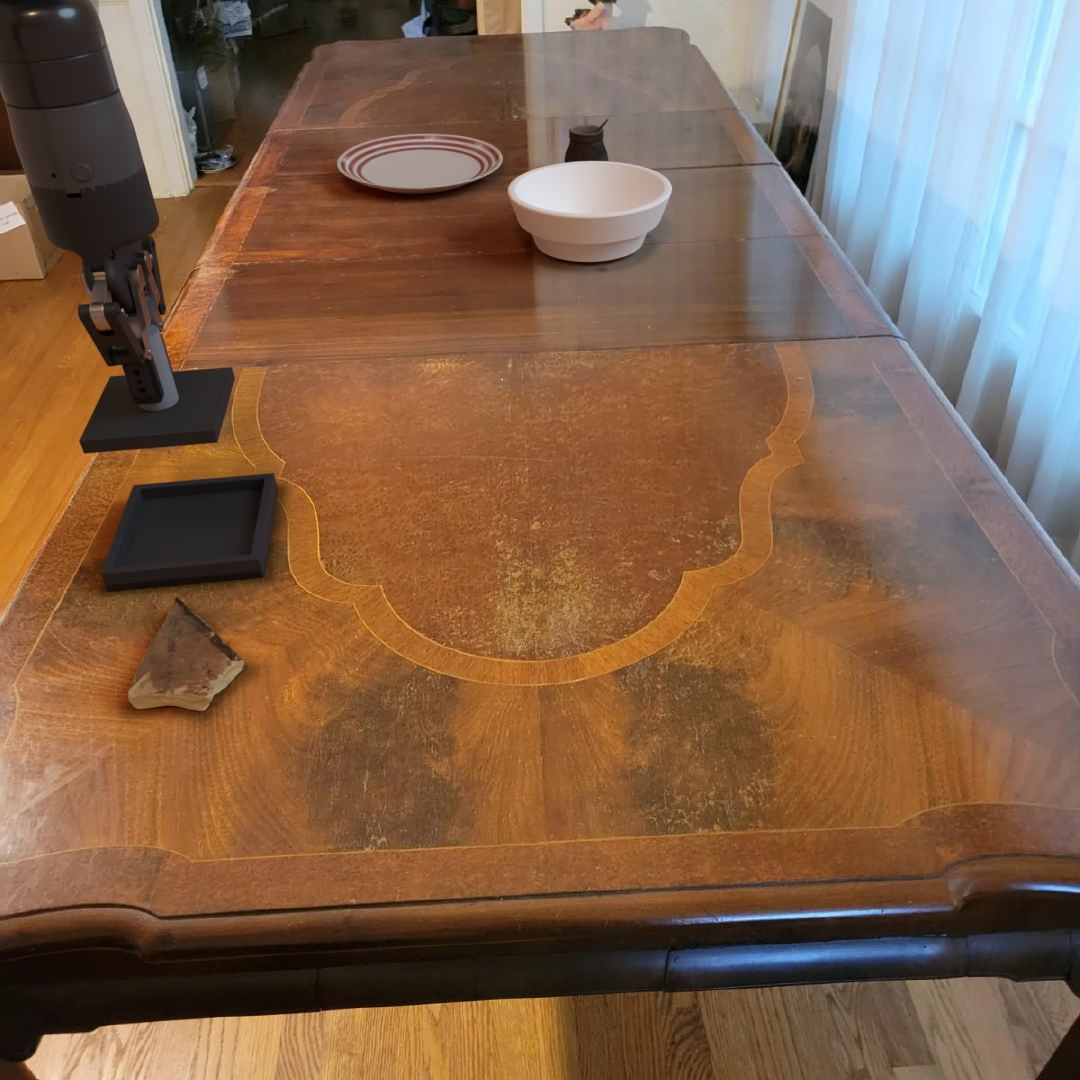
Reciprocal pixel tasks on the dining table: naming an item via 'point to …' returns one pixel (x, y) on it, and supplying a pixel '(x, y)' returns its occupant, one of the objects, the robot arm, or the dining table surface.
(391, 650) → the dining table surface
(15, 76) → the robot arm
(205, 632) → the shard
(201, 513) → the base pad
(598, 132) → the mate gourd
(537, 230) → the bowl
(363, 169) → the dinner plate
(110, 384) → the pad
